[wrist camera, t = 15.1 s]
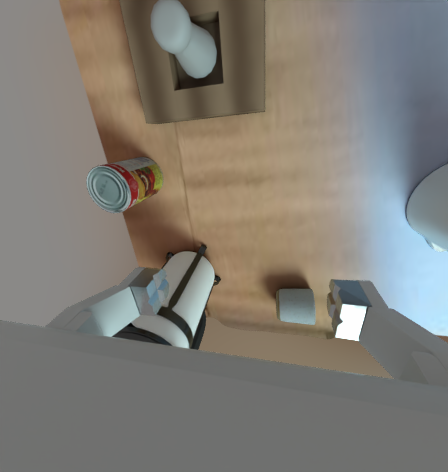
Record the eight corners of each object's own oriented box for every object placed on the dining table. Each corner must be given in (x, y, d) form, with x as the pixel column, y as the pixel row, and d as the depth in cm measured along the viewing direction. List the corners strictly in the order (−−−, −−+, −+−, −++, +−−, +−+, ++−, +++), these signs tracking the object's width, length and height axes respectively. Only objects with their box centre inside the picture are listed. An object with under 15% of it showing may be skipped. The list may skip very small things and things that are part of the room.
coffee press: (157, 273, 57) (60, 397, 30) (180, 229, 49) (76, 344, 23) (212, 304, 58) (164, 449, 32) (242, 266, 50) (212, 416, 24)
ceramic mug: (274, 282, 50) (275, 306, 44) (311, 281, 48) (317, 306, 42) (278, 314, 55) (279, 340, 48) (311, 314, 53) (317, 342, 46)
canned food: (133, 194, 47) (94, 212, 37) (125, 157, 44) (79, 165, 33) (165, 195, 46) (134, 214, 35) (160, 156, 42) (123, 165, 32)
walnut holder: (264, -25, 28) (264, -47, 25) (265, 111, 35) (264, 109, 32) (134, 7, 32) (117, -7, 29) (157, 124, 39) (146, 123, 36)
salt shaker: (179, 44, 33) (130, -2, 21) (213, 26, 31) (179, -34, 19) (192, 87, 35) (154, 66, 23) (224, 73, 33) (200, 43, 22)
